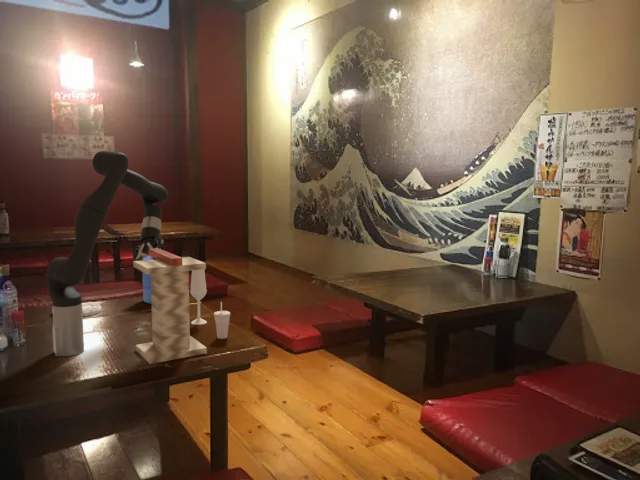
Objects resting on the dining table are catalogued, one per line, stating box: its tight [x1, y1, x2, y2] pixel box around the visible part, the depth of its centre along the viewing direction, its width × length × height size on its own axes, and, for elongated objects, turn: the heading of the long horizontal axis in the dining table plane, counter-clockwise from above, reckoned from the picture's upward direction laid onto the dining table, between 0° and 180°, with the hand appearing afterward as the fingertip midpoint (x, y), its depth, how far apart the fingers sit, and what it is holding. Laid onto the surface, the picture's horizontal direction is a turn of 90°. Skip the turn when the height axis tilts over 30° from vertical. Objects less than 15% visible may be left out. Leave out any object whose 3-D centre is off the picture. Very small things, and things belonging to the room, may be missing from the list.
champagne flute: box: [189, 269, 208, 325], centre depth 222 cm, size 7×7×24 cm
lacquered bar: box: [148, 248, 182, 266], centre depth 187 cm, size 4×26×2 cm, turn 34°
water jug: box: [142, 248, 161, 305], centre depth 259 cm, size 16×16×28 cm
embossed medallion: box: [52, 301, 102, 317], centre depth 237 cm, size 20×20×3 cm
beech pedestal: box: [133, 256, 208, 365], centre depth 185 cm, size 20×16×32 cm
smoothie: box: [213, 301, 231, 340], centre depth 203 cm, size 6×6×14 cm
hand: (146, 266), depth 209 cm, fingers open, 8 cm apart
